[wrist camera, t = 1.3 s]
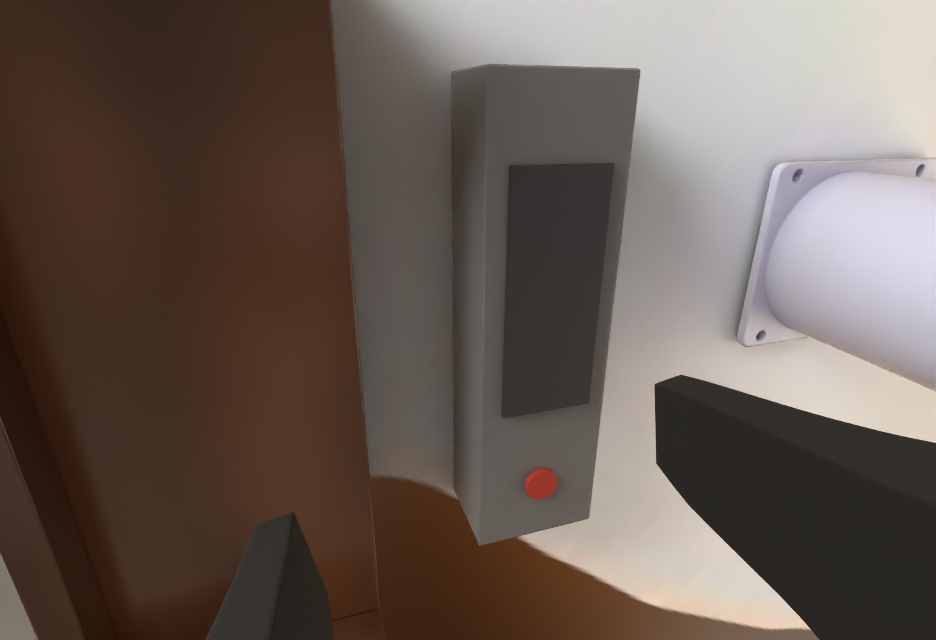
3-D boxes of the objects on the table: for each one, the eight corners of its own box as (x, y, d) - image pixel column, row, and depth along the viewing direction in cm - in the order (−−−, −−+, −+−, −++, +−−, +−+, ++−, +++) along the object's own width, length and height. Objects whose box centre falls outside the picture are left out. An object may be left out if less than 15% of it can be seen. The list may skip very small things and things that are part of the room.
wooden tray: (315, -66, 14) (335, -175, 9) (370, 569, 22) (398, 714, 17) (-120, -109, 11) (-480, -303, 6) (129, 630, 20) (72, 823, 14)
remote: (583, 75, 17) (647, 67, 14) (552, 469, 23) (592, 523, 20) (451, 71, 16) (489, 62, 13) (453, 490, 22) (481, 551, 19)
